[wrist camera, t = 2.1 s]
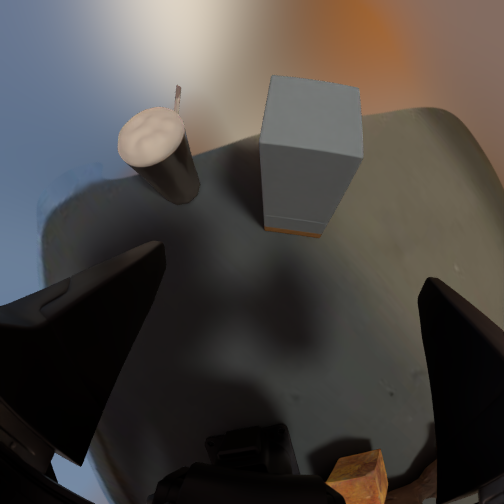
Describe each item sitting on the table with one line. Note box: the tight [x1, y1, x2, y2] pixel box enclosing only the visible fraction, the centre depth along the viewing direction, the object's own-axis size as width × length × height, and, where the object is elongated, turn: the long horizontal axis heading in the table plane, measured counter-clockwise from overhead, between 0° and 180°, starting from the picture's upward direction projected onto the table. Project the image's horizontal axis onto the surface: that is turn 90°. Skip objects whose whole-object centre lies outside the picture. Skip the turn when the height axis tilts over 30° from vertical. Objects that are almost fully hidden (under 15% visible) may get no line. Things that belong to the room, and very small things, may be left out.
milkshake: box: [118, 85, 201, 205], centre depth 20 cm, size 4×5×10 cm
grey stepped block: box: [259, 75, 363, 238], centre depth 18 cm, size 8×4×12 cm, turn 171°
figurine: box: [384, 459, 437, 504], centre depth 15 cm, size 9×8×20 cm
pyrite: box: [325, 449, 388, 504], centre depth 16 cm, size 5×7×4 cm
